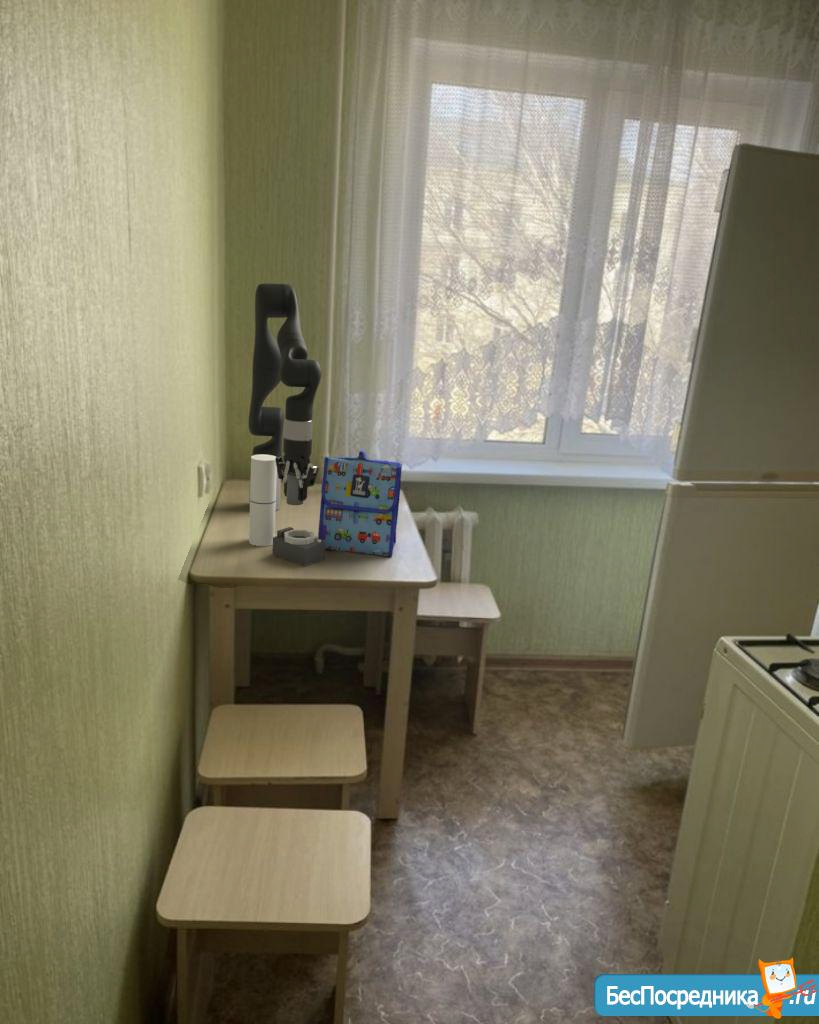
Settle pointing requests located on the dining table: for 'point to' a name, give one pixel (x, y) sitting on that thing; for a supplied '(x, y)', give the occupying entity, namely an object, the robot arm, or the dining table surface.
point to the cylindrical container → (262, 499)
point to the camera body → (298, 546)
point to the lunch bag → (359, 504)
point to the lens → (293, 489)
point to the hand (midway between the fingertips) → (295, 497)
